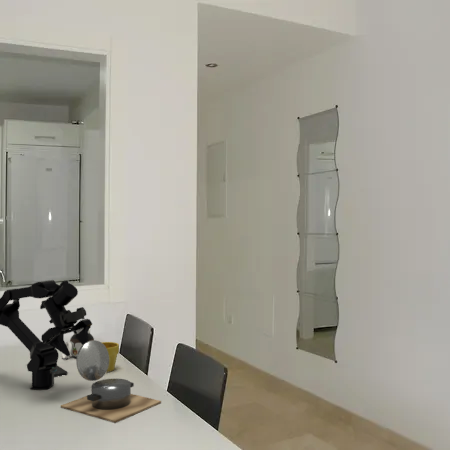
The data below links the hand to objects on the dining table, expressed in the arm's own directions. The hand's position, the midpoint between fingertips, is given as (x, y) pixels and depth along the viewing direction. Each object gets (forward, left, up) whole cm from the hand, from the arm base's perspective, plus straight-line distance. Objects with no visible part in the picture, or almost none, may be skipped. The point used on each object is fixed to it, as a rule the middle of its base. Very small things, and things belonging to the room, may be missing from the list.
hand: (79, 352), depth 184 cm
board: (+13, -11, -14) cm, 22 cm away
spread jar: (-13, +49, -14) cm, 53 cm away
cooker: (+13, -11, -14) cm, 22 cm away
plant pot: (+3, +29, -14) cm, 32 cm away
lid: (+7, -7, -1) cm, 10 cm away
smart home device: (-19, +29, -15) cm, 38 cm away
